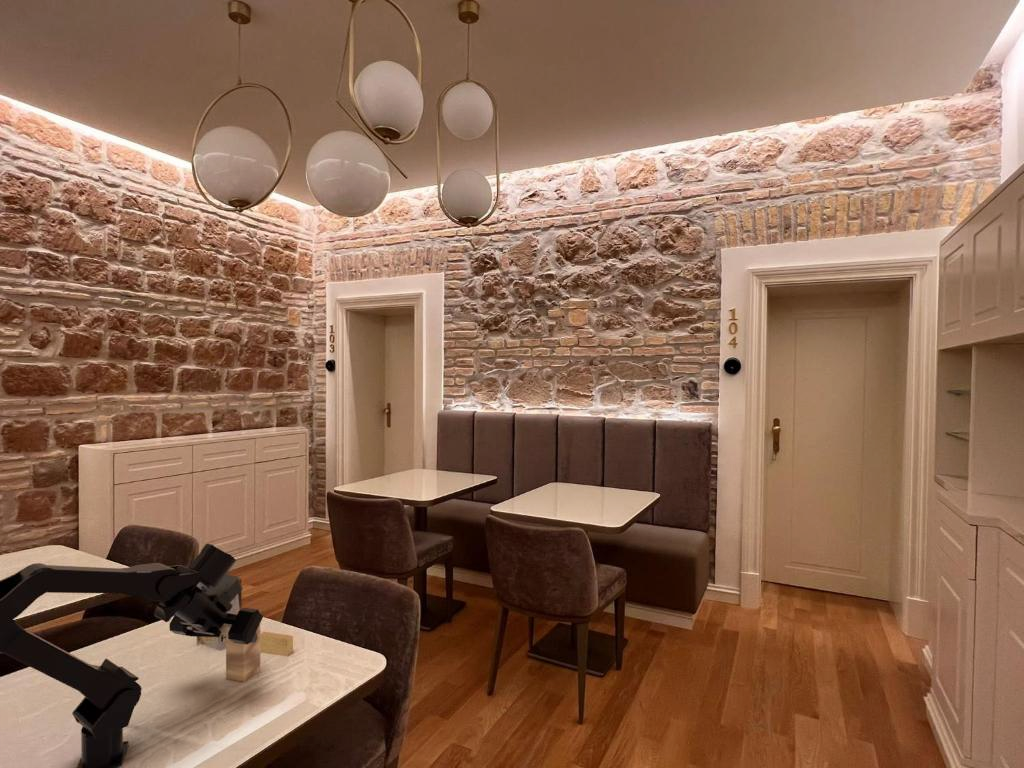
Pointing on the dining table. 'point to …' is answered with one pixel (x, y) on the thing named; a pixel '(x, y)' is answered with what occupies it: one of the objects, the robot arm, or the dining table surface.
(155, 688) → the dining table surface
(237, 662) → the block
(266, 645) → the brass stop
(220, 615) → the robot arm
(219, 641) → the coffee box
